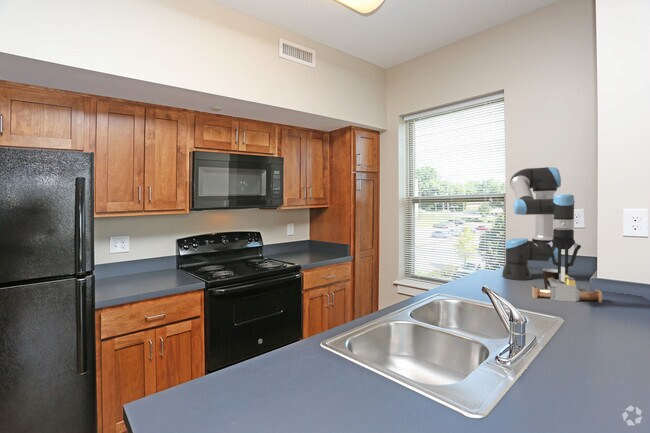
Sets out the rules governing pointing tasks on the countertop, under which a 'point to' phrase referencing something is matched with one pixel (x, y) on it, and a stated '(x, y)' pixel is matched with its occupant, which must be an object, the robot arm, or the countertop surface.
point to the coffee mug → (550, 276)
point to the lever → (567, 280)
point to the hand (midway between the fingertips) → (562, 280)
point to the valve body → (566, 292)
